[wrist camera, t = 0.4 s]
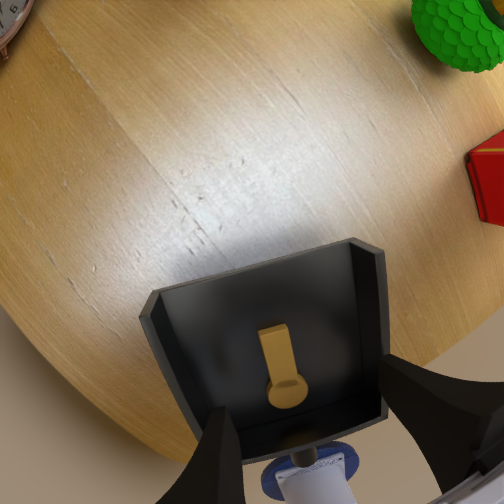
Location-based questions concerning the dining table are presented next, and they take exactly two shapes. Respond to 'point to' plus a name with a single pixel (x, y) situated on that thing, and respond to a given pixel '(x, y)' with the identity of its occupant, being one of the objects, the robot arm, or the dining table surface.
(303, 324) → the grey sheet metal tray
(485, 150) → the french fries container
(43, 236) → the dining table surface
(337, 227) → the dining table surface
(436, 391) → the robot arm
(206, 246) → the dining table surface
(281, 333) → the spoon
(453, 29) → the ornament
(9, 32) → the alarm clock
